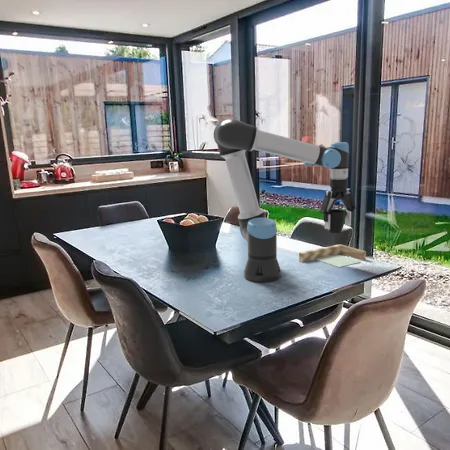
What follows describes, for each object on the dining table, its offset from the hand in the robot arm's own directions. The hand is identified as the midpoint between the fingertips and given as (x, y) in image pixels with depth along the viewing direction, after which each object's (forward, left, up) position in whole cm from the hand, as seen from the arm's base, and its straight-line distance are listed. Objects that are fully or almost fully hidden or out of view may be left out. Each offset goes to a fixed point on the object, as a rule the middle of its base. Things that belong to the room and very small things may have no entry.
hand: (337, 227), depth 192 cm
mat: (0, 0, -16) cm, 16 cm away
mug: (0, 0, -2) cm, 2 cm away
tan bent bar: (-1, +2, -16) cm, 16 cm away
